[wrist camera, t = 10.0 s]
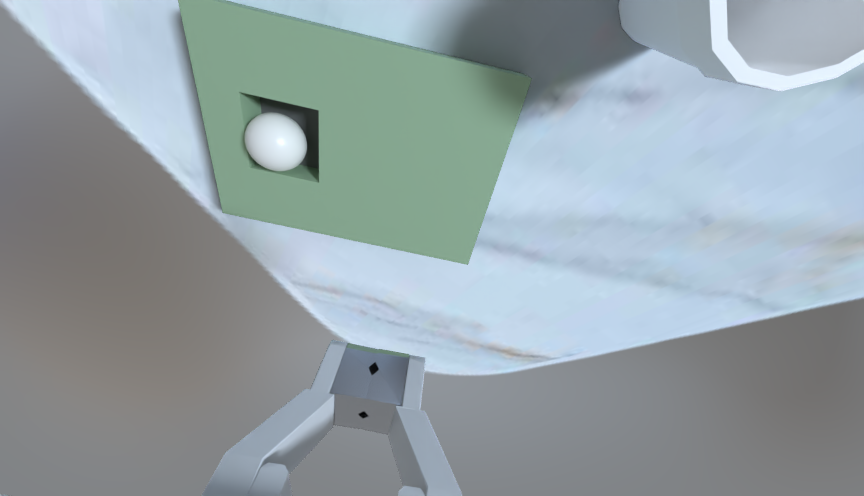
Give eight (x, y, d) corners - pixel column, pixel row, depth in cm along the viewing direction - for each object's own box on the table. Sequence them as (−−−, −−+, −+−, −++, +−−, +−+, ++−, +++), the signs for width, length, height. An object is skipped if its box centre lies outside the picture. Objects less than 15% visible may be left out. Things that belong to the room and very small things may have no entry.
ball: (270, 119, 24) (317, 115, 28) (225, 109, 25) (276, 107, 29) (278, 182, 26) (320, 170, 30) (236, 169, 28) (282, 159, 32)
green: (209, -4, 25) (176, -9, 22) (524, 73, 26) (531, 78, 23) (242, 198, 35) (222, 212, 32) (467, 246, 36) (467, 264, 33)
